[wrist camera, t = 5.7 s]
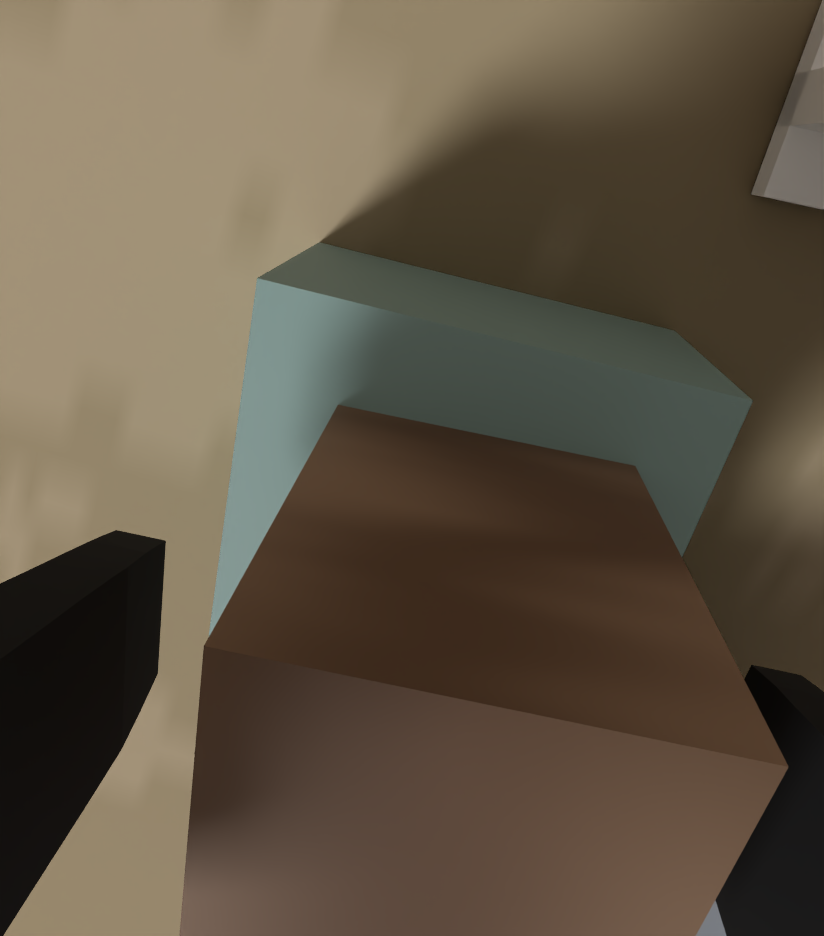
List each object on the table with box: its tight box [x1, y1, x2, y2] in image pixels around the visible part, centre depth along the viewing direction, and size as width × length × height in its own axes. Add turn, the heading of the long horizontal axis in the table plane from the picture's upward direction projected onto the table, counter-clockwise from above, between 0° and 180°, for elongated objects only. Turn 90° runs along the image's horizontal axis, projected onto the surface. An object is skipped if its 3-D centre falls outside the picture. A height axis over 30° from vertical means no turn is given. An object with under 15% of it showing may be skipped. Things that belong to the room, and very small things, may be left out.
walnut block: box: [180, 405, 788, 936], centre depth 9 cm, size 4×4×6 cm
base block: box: [209, 242, 753, 636], centre depth 13 cm, size 7×7×4 cm
